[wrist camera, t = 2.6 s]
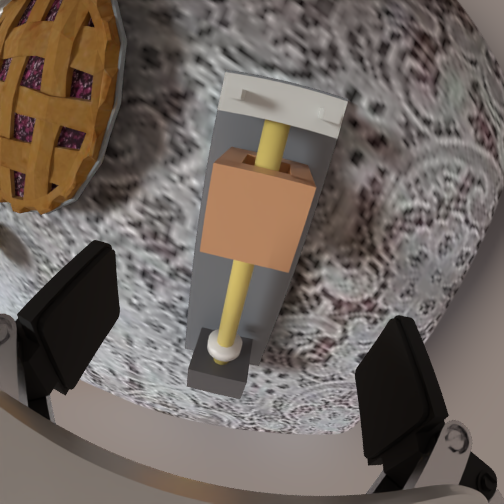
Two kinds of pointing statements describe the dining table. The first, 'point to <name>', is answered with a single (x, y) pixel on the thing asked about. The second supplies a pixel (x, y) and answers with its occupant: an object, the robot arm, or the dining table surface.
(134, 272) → the dining table surface
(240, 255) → the sleeve
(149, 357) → the dining table surface
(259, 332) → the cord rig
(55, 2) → the pie
